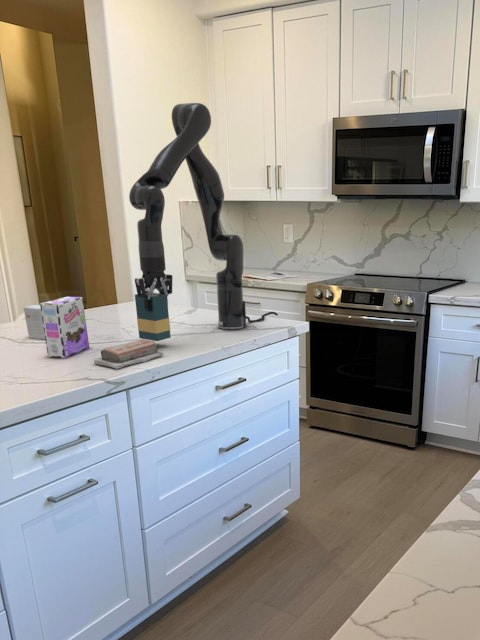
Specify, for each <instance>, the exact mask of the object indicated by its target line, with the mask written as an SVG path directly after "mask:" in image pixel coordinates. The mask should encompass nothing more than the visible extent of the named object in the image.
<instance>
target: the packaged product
mask: <svg viewBox="0 0 480 640" xmlns="http://www.w3.org/2000/svg"><path fill="white" fill-rule="evenodd" d="M163 355H164V352H161V351H159V348H158V346H157V344H156V341H153V340H147V339H139V340H134V341H130V342H126V343H122V344H118V345H114V346H109V347H105V348H102V349H101V350H100V356H101V357H97V358H94V359H93V363H94V365H99V366H104V367H108V368H113V369H116V370H119V369H122V368H124V367H127V366H131V365H135V364H138V363H144V362H148V361H150V360H153V359H157V358H160V357H162V356H163Z"/></svg>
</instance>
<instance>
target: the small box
mask: <svg viewBox="0 0 480 640" xmlns="http://www.w3.org/2000/svg"><path fill="white" fill-rule="evenodd" d="M23 311H24V318H25V324H26V328H27V333H28V338H31V339H38V340H45V333H44V327H43V320H42V313H41V307H40V304H33V305H27V306H23ZM45 341H46V340H45Z"/></svg>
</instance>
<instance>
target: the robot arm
mask: <svg viewBox="0 0 480 640" xmlns="http://www.w3.org/2000/svg"><path fill="white" fill-rule="evenodd" d="M171 123H172V127H173V130H174V132H175V135H176V137H175V138H174V139H173V140H172V141H170V142H169V143H168V144H167V145H165V146H164V148H162V149H161V150H160V151H159V153H157V155H156V156H155V158H154V159H153V161H152V163H151V164H150V165H149V168H148V169H147V171H146V172H144V174H142V175H141V176H140V177H139V178H138V179H137V180H136V181H135V183H133V185H132V186H131V188H130V191H129V194H128V200H129V203H130V205H131V206H132V207H133V208H134V209H135V210H138V211H145V214H144V217H143V218H141V219H139V220H138V221H137V226H136V227H137V237H138V259H139V268H140V271H141V272H142V276H141V277H139V278H138V277H135V278H134V285H135V289H136V294H138V297H139V298H143V299H144V307H145V310H146V311H148V312H151V311H152V303H151V300H150V299H151V296H152V293H155V290H157V291H158V293H160V294H167V297H169V295H172V294H173V275H172V274H169V273H168V274H167V273H165V271H166V269H167V268H166V257H165V245H164V242H163V241H164V240H163V232H162V231H163V230H162V223H163V217H164V211H165V205H166V200H165V196H164V192H163V190H164V189H166V188H168V187H169V185H170V184H171V182H172V181H173V179H174V177H175V176H176V174H177V172H178V170H179V168H180V167H181V165H182V164H183V162H184V161H186V165H187V168H188V171H189V174H190V178H191V181H192V185H193V189H194V192H195V196H196V199H197V201H198V202H197V203H198V205H199V208H200V212H201V215H202V220H203V224H204V228H205V233H206V239H207V243H208V247H209V251H210V254H211V257H212V258H214V260H217V261H221V262H226V263H225V268H223V269H222V270H220V271H216V273H215V279H216V296H217V315H218V321H217V323H218V328H219V329H221V330H226V331H227V330H228V331H231V330H232V331H234V330H240V329H244V328H247V322H248V323H258V322H261V321H264V320H265V317H266V316H270V315H275V316H279V313H277V312H276V311H269V312H266V313H264V314H262V315H261V317H260V318H257V319H251V317H249V316H247V314H246V301H245V300H244V292H243V274H244V258H245V257H244V254H245V253H244V252H245V251H244V242H243V239H242V238H241V237H240V235H238V234H233V233H232V234H231V233H224V232H223V229H222V224H221V213H222V210H223V206H224V201H225V192H224V188H223V183H222V180H221V177H220V174H219V172H218V170H217V169H216V167H215V165H214V164H213V163H212V162H211V161H210V159H208V157H207V155H206V154H205V153H204V152H203V150H202V148H201V146H200V142H201V140H202V139H204V138H205V136H206V135H207V134H208V132H209V131H210V128H211V125H212V116H211V112H210V109H209V108H208V107H207V106H206V105H205V104H203V103H201V102H183V103H178V104H176V105H174V106H173V108H172V109H171ZM141 293H142V294H141ZM147 293H148V295H147ZM167 302H168V303H169V301H168V298H167Z"/></svg>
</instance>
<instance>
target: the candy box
mask: <svg viewBox="0 0 480 640" xmlns="http://www.w3.org/2000/svg"><path fill="white" fill-rule="evenodd" d="M39 305H40V307H41V313H42V320H43V327H44V333H45V346H46V352H47V357H48V358H56V359H57V358H58V359H66V358H68V357H71V356H74V355H76V354H79V353H81V352H83V351H86V350H88V349H90V344H89V336H88V328H87V321H86V314H85V307H84V298H83V297H82V296H64V297H60V298H57V299H53V300H48V301H45V302H44V301H43V302H40V303H39Z"/></svg>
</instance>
